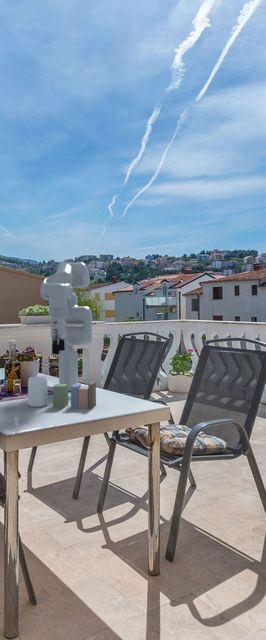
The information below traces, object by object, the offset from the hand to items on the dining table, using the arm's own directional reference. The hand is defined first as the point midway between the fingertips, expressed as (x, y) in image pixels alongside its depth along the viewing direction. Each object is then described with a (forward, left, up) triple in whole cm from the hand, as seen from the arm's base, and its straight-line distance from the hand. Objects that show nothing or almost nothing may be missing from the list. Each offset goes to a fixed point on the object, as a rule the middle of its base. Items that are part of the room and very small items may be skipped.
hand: (58, 352), depth 219 cm
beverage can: (+5, -8, -23) cm, 25 cm away
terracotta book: (+5, +12, -23) cm, 26 cm away
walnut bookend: (+5, +16, -23) cm, 28 cm away
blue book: (+5, +9, -23) cm, 25 cm away
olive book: (+5, +2, -23) cm, 23 cm away
